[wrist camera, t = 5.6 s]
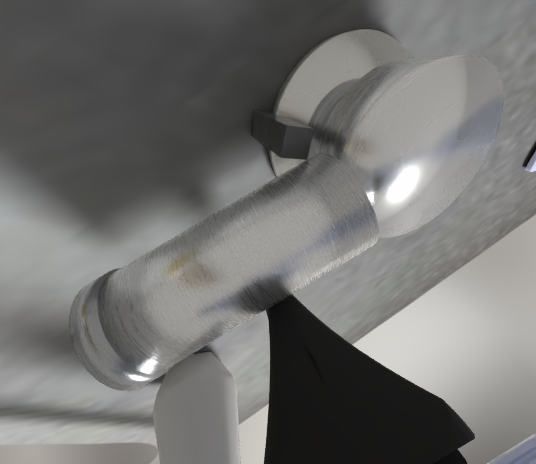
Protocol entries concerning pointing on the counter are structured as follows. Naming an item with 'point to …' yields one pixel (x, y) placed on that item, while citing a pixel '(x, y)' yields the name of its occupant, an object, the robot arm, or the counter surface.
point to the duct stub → (319, 93)
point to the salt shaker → (197, 413)
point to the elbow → (297, 218)
